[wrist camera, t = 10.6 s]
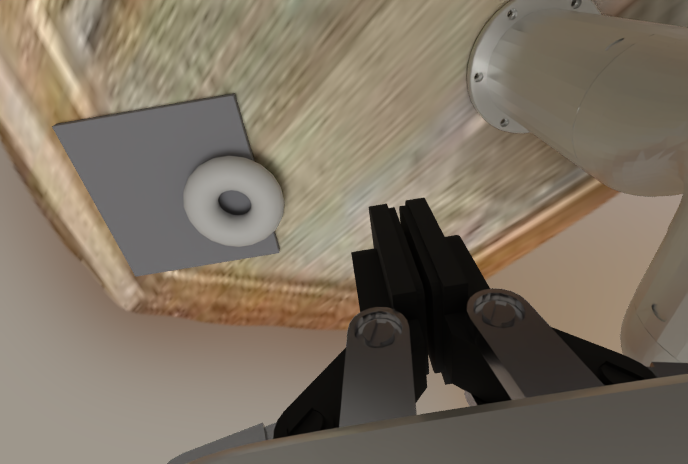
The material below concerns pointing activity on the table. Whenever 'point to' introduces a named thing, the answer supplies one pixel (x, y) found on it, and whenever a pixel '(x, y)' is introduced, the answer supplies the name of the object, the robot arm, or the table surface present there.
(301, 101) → the table surface
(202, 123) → the mat
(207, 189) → the donut
